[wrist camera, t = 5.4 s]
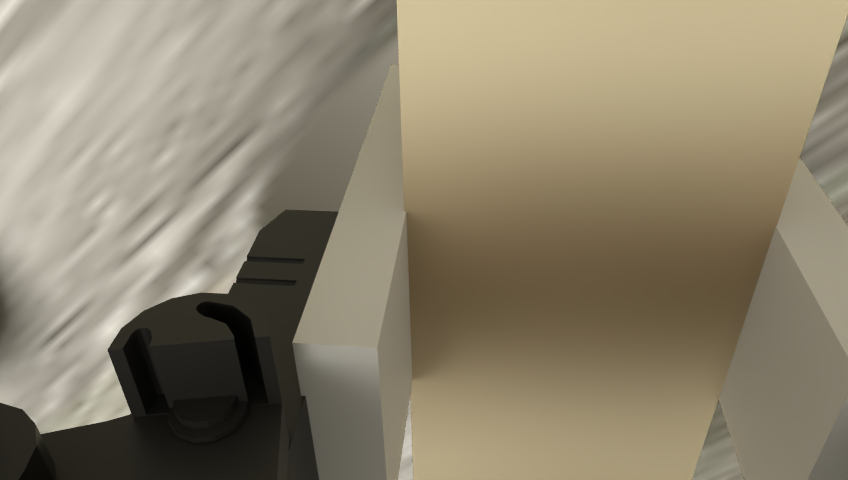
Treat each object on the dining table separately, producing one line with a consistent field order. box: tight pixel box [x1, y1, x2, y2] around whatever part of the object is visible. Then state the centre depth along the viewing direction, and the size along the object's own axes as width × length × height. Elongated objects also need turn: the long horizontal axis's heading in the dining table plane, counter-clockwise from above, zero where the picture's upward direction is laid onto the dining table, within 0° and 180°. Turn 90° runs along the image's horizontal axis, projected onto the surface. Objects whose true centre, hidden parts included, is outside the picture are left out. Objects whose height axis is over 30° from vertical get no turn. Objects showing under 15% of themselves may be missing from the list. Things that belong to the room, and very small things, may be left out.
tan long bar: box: [397, 0, 848, 480], centre depth 10 cm, size 18×4×5 cm, turn 1°
